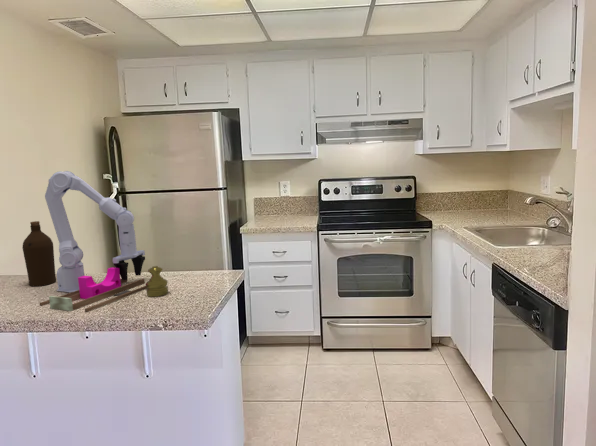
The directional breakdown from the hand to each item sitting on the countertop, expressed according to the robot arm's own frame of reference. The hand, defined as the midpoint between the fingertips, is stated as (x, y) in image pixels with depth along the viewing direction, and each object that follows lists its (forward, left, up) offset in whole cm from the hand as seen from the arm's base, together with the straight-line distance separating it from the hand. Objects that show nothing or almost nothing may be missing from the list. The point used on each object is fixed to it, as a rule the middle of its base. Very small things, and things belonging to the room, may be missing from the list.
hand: (131, 277), depth 174 cm
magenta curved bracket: (-1, -13, -3) cm, 13 cm away
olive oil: (-38, -9, -3) cm, 39 cm away
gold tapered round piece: (+20, -8, -3) cm, 22 cm away
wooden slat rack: (0, -15, -2) cm, 16 cm away
